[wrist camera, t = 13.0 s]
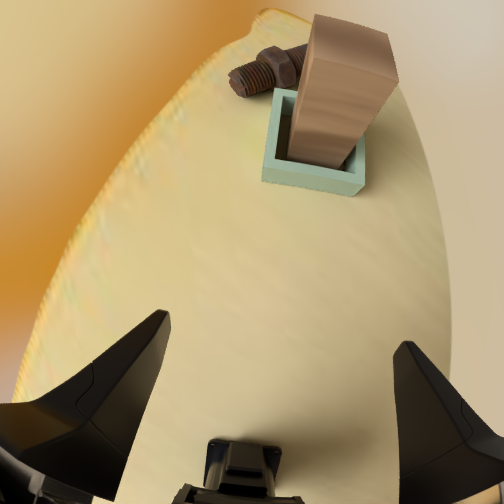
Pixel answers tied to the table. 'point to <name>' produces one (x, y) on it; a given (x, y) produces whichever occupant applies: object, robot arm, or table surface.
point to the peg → (339, 91)
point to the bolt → (269, 71)
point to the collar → (305, 173)
